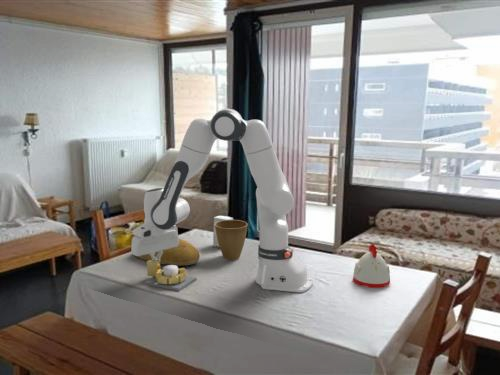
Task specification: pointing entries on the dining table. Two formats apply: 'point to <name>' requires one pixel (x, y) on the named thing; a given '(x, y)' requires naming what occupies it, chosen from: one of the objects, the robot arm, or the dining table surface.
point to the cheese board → (155, 271)
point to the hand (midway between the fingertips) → (156, 261)
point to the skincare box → (216, 219)
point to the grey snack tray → (167, 272)
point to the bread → (177, 255)
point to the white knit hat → (372, 270)
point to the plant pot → (231, 237)
